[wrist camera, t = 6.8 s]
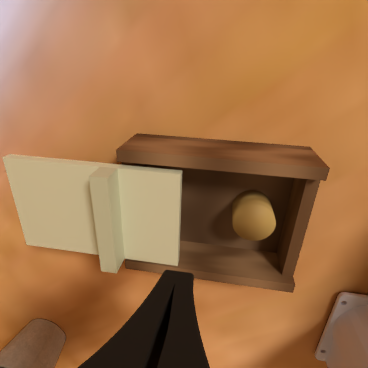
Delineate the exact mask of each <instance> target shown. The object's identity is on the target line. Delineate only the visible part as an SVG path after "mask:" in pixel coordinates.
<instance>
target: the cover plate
mask: <svg viewBox="0 0 368 368" xmlns="http://www.w3.org/2000/svg"><path fill="white" fill-rule="evenodd" d="M2 158H3V161H4V165H5V169H6V172H7V176H8V179H9V183H10V187H11V190H12V194H13V197H14V201H15V205H16V208H17V212H18V215H19V219H20V223H21V226H22V230H23V233H24V237H25V241H26V244H27V245H32V246H39V247H46V248H53V249H60V250H67V251H75V252H82V253H89V254H96V255H99V259H100V266H101V271H104V272H111V273H117V272H118V270H119V268H120V266H121V265H122V263H123V261H124V259H131V260H138V261H146V262H153V263H160V264H167V265H174V266H178V262H179V251H180V223H181V195H182V170H174V169H164V168H153V167H142V166H132V165H121V164H110V163H100V162H89V161H78V160H68V159H57V158H46V157H36V156H25V155H14V154H9V155H7V156H4V157H2Z"/></svg>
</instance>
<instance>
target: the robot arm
mask: <svg viewBox="0 0 368 368" xmlns="http://www.w3.org/2000/svg"><path fill="white" fill-rule="evenodd" d="M193 280H194V275H193V274H192V273H188V272H181V271H173V270H165V271H164V272H163V274H162V276H161V277H160V279H159V281H158V282H157V284H156V285H155V287H154V288H153V290H152V291H151V292H150V294H149V295H148V296H147V298H146V299H145V300H144V302H143V303H142V304H141V306H140V307H139V308H138V309H137V310H136V312H135V313H134V314H133V315H132V316H131V318H130V319H129V320H128V321H127V322H126V323H125V324H124V325H123V326H122V328H121V329H120V330H119V331H118V332H117V333H116V334H115V335H114V336H113V337H112V338H111V339H110V340H109V341H108V342H107V343H105V344H104V345H103V346H102V347H101V348H100V349H99V350H98V351H97V352H96V353H95V354H93V355H92V356H91V357H90V358H89V359H88V360H86V361H85V362H84V363H83V364H81V365H80V366H79V367H78V368H210V367H209V363H208V360H207V357H206V354H205V350H204V347H203V343H202V340H201V336H200V331H199V327H198V322H197V317H196V311H195V305H194V297H193ZM342 301H343V302H342ZM315 358H316V359H317V360H321V361H326V364H327V368H368V295H362V294H355V293H348V292H341V293H340V294H339V295H338V297H337V299H336V302H335V304H334V307H333V309H332V312H331V314H330V317H329V319H328V322H327V324H326V327H325V329H324V332H323V334H322V336H321V339H320V341H319V344H318V346H317V349H316V351H315Z"/></svg>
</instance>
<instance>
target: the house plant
mask: <svg viewBox="0 0 368 368" xmlns="http://www.w3.org/2000/svg"><path fill="white" fill-rule="evenodd" d="M65 340H66V336H65V334H64V332H63V331H62V330H61V329H60V328H59V327H58V326H57V325H56V324H54V323H53V322H51V321H48V320H44V319H34V320H32V321H31V322H30V323H29V324H27V325H26V326H25V327H24V328H23V329H22V330H21V331H20V332H19V333H18V334H17V335H16V336H15V337H14V338H13V339H12V340H11V341H10V342H9V343H8V344H7V345H6V346H5V347H4V348H3V349H2V350H1V351H0V368H54V367H55V365H56V363H57V360H58V358H59V355H60V353H61V350H62V348H63V345H64V343H65Z"/></svg>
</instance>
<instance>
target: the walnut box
mask: <svg viewBox="0 0 368 368" xmlns="http://www.w3.org/2000/svg"><path fill="white" fill-rule="evenodd" d="M116 154H117V161H118V162H122V165H132V166H142V167H153V168H164V169H174V170H182V195H181V223H180V251H179V262H178V266H174V265H167V264H160V263H153V262H146V261H138V260H131V259H126V260H125V267H126V268H127V269H134V270H141V271H147V272H154V273H161V274H163V272H164V271H165V270H173V271H181V272H188V273H192V274H193V275H194V278H195V279H202V280H209V281H216V282H223V283H230V284H237V285H244V286H250V287H257V288H264V289H271V290H278V291H285V292H292V293H293V290H294V287H295V282H294V279H293V274H294V271H295V267H296V264H297V260H298V257H299V253H300V250H301V246H302V243H303V239H304V236H305V232H306V229H307V225H308V222H309V218H310V215H311V211H312V208H313V204H314V201H315V197H316V194H317V190H318V187H319V183H320V180H323V181H326V179H327V176H328V172H329V169H330V168H329V167H328V166H327V165H326V164H325V163H324V162H323V160H322V159H321V158H320V157H319V156H318V155H317V154H316V153H315V152H314V151H313V150H312V149H311V148H310V147H304V146H291V145H278V144H265V143H253V142H240V141H227V140H214V139H201V138H188V137H175V136H162V135H149V134H136V135H134V136H133V137H132V138H131V139H129V140H128V141H127V142H125V143H124V144H123V145H122V146H120V147H119V148H118V149H117V150H116Z"/></svg>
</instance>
